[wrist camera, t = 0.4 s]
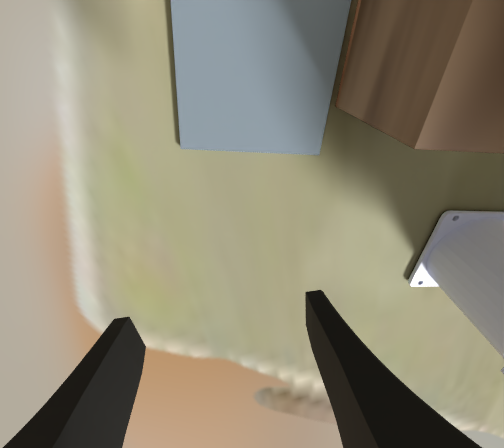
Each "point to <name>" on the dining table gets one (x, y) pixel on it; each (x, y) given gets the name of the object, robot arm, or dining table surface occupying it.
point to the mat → (256, 72)
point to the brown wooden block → (428, 72)
